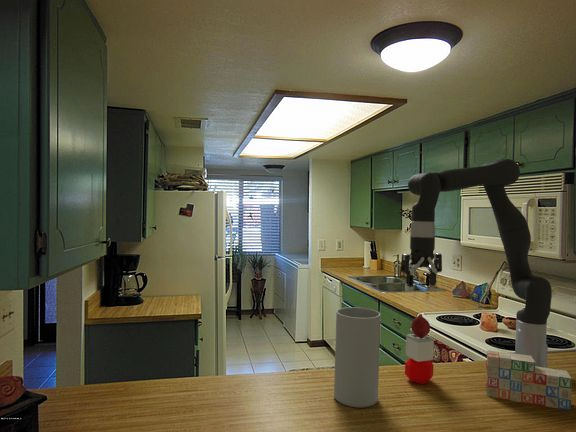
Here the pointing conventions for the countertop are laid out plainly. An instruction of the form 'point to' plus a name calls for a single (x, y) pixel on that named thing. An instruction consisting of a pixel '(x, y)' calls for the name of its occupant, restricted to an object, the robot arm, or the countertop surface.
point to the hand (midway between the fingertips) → (421, 286)
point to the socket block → (419, 347)
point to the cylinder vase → (357, 356)
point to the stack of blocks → (526, 381)
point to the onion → (420, 326)
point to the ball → (418, 370)
